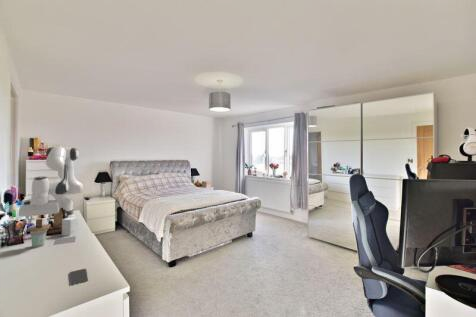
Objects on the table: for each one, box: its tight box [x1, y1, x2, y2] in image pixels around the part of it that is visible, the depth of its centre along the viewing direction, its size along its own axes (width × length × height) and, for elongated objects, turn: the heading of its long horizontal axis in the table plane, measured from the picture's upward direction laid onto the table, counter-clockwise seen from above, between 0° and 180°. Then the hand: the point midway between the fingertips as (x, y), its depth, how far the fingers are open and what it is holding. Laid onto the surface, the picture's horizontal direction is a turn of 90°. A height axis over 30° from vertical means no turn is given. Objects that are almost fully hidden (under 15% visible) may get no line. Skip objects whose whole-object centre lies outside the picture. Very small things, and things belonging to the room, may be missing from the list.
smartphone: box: [68, 268, 89, 286], centre depth 110 cm, size 7×1×15 cm
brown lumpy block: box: [46, 208, 66, 236], centre depth 178 cm, size 15×15×20 cm
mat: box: [53, 235, 76, 246], centre depth 160 cm, size 14×12×1 cm
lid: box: [25, 218, 51, 233], centre depth 149 cm, size 11×11×6 cm
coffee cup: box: [29, 230, 47, 249], centre depth 149 cm, size 8×9×12 cm
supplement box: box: [61, 217, 79, 237], centre depth 175 cm, size 7×7×13 cm
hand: (39, 221), depth 149 cm, fingers open, 8 cm apart
